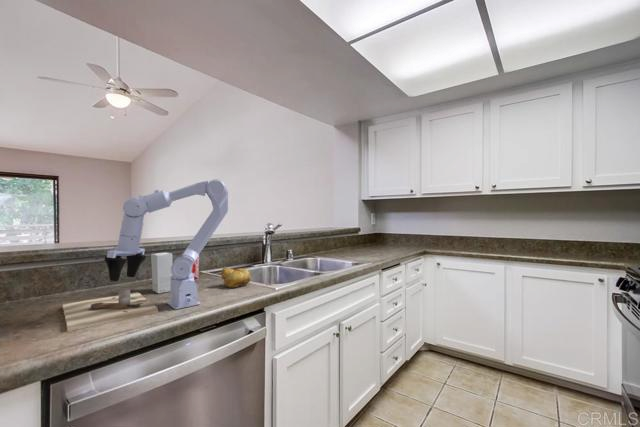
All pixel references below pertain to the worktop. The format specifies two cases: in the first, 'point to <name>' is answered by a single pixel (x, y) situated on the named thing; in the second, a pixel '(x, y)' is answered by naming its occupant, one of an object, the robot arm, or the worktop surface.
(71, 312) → the dial board
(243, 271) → the potato
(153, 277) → the skincare box
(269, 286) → the worktop surface
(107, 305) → the lever
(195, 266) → the soda can
